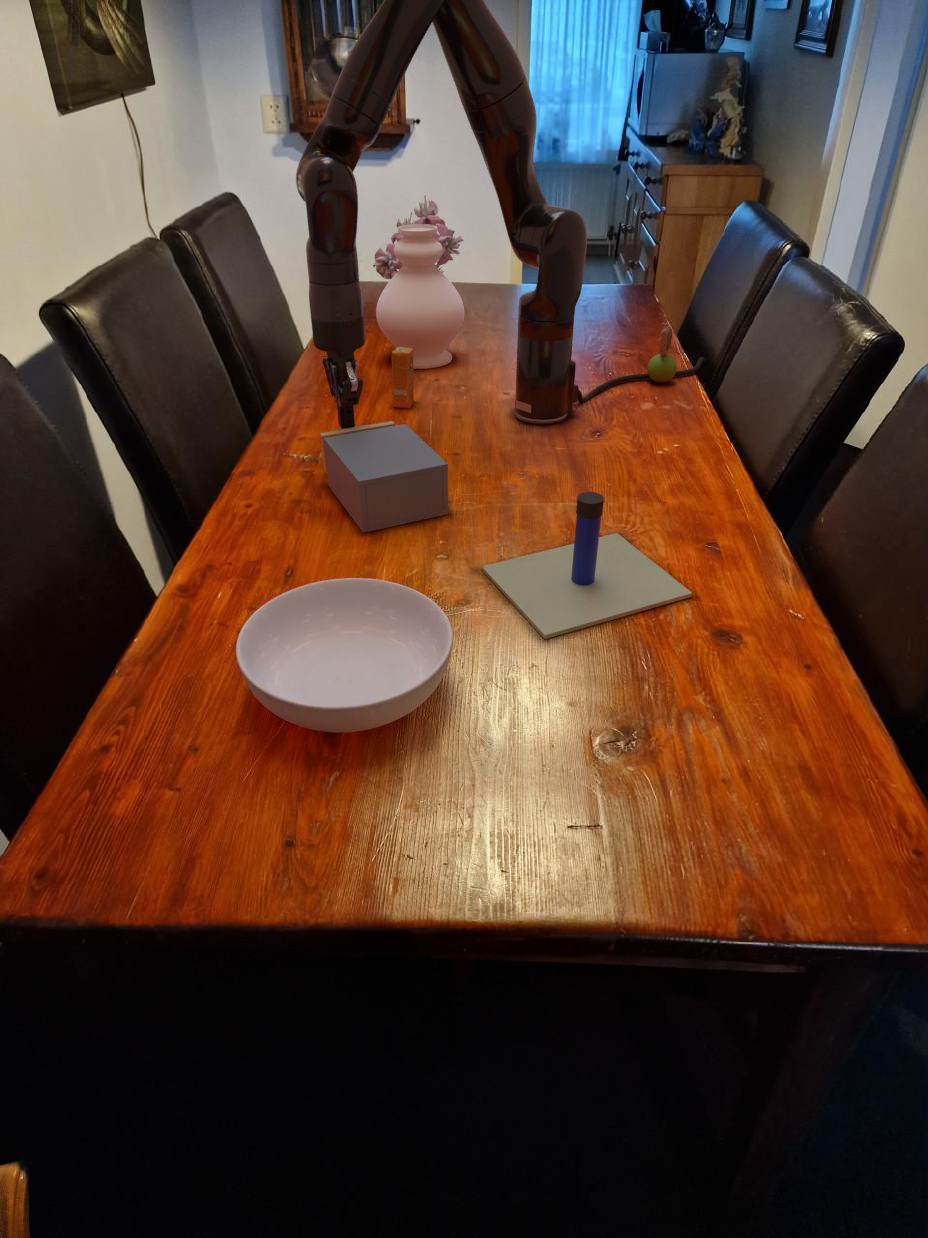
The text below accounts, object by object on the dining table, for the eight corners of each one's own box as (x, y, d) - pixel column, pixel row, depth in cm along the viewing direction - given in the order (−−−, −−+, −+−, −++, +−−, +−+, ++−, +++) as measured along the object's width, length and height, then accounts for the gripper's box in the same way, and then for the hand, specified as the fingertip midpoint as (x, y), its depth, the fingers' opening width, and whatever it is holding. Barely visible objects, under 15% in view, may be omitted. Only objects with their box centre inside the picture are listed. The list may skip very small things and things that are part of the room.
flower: (343, 302, 201) (355, 207, 180) (413, 277, 212) (431, 186, 191) (394, 353, 195) (412, 262, 175) (463, 325, 206) (487, 236, 186)
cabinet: (328, 486, 121) (323, 437, 117) (407, 470, 125) (405, 423, 121) (363, 533, 109) (358, 481, 105) (448, 514, 114) (448, 463, 109)
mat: (616, 536, 109) (617, 532, 108) (691, 597, 97) (692, 592, 96) (481, 570, 102) (481, 565, 101) (544, 639, 90) (544, 635, 89)
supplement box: (410, 408, 146) (408, 352, 141) (392, 407, 147) (389, 351, 141) (415, 402, 149) (413, 347, 143) (397, 401, 150) (394, 345, 144)
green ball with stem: (642, 386, 156) (650, 321, 149) (648, 375, 161) (657, 312, 154) (670, 389, 154) (680, 324, 147) (676, 379, 159) (686, 315, 152)
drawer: (315, 458, 127) (311, 423, 123) (384, 446, 131) (382, 411, 127) (354, 509, 113) (351, 471, 110) (430, 494, 117) (429, 456, 113)
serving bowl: (272, 790, 72) (261, 732, 68) (229, 656, 87) (217, 603, 84) (487, 725, 79) (488, 669, 75) (411, 611, 94) (408, 560, 90)
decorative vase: (481, 362, 168) (482, 229, 153) (407, 378, 159) (401, 240, 145) (434, 341, 180) (431, 216, 165) (363, 355, 171) (354, 225, 157)
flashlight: (586, 570, 100) (594, 489, 94) (599, 582, 98) (609, 500, 92) (565, 576, 99) (572, 494, 93) (578, 588, 97) (586, 505, 91)
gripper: (377, 321, 113) (384, 438, 123) (347, 298, 123) (356, 409, 133) (324, 327, 111) (336, 447, 121) (299, 304, 121) (311, 416, 131)
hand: (346, 427), depth 127 cm, fingers closed
